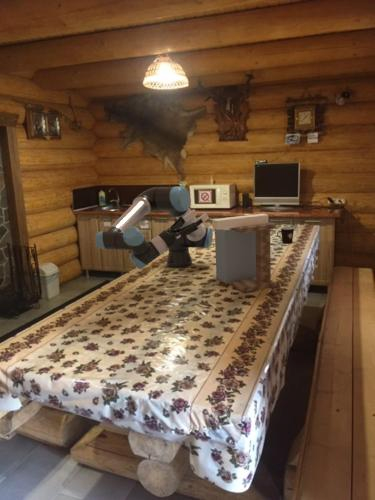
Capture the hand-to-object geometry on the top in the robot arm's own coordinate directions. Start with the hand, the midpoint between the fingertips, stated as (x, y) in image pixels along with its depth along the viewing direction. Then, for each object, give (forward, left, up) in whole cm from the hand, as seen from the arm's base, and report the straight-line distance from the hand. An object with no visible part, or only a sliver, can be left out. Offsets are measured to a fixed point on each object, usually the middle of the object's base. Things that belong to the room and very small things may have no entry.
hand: (201, 213), depth 185 cm
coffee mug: (+67, +91, -38) cm, 119 cm away
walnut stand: (+24, +6, -38) cm, 45 cm away
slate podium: (+19, +21, -38) cm, 47 cm away
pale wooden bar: (+18, +5, -8) cm, 21 cm away
